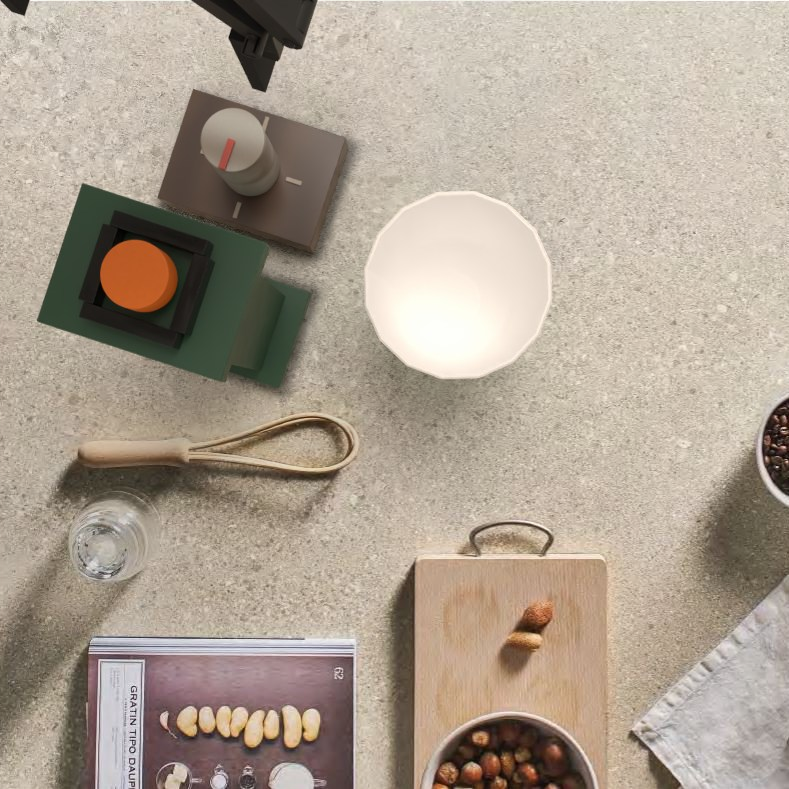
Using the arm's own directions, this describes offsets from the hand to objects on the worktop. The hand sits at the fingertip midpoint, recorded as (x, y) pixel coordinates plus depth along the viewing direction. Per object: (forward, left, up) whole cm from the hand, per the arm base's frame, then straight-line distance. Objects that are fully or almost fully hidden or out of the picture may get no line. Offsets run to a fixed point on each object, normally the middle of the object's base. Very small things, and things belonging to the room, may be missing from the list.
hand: (146, 28), depth 47 cm
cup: (+20, -5, -32) cm, 38 cm away
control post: (+2, -12, -32) cm, 34 cm away
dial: (0, +1, -29) cm, 29 cm away
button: (+2, -12, -6) cm, 14 cm away
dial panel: (0, +1, -32) cm, 32 cm away
